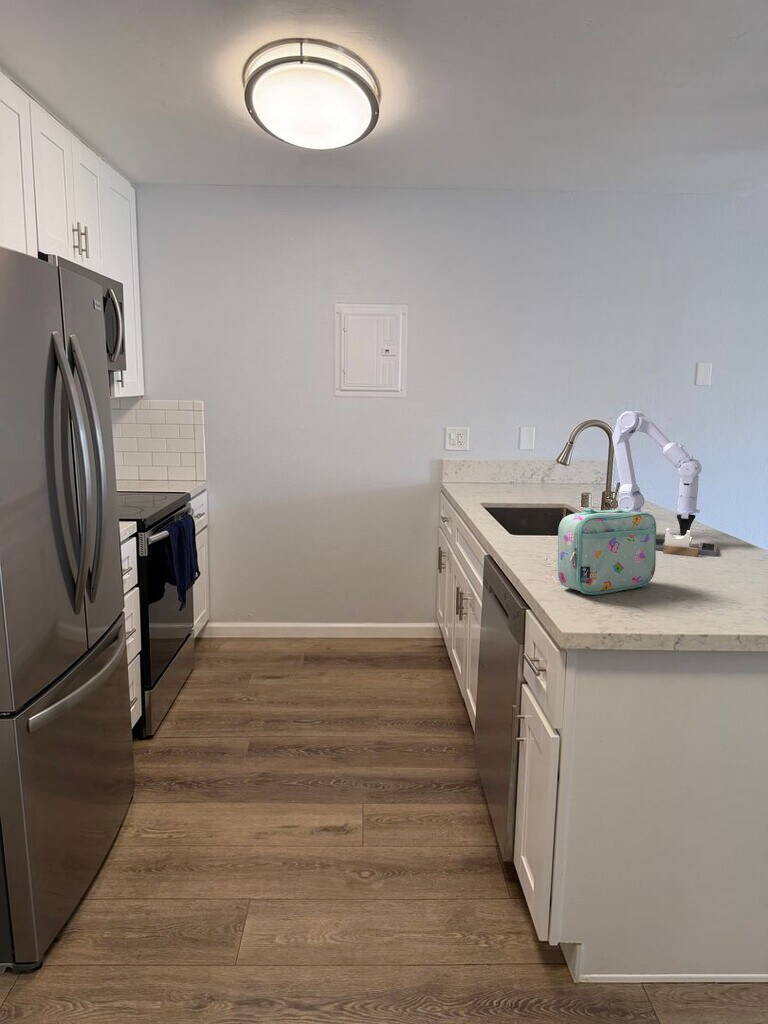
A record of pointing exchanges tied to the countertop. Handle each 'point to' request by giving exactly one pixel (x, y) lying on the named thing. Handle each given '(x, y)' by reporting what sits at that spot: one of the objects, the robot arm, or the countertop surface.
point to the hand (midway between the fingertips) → (684, 536)
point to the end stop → (680, 550)
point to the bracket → (678, 539)
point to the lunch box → (606, 550)
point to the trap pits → (704, 548)
